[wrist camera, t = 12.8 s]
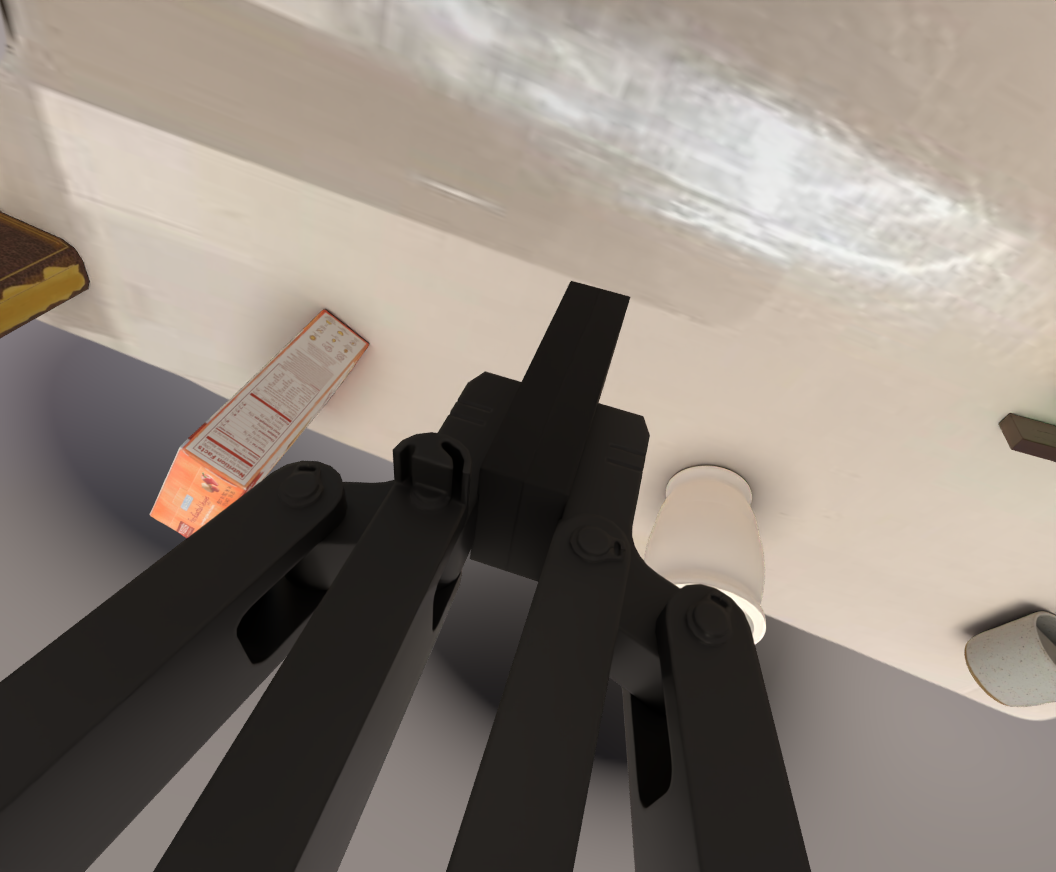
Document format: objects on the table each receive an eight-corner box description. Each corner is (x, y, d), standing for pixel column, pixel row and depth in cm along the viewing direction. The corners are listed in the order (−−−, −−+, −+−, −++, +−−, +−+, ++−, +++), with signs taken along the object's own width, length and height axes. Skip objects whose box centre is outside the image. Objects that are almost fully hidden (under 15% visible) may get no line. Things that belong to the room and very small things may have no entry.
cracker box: (324, 410, 66) (204, 552, 51) (280, 378, 64) (143, 515, 50) (375, 345, 57) (245, 495, 42) (325, 305, 55) (172, 447, 40)
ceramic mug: (949, 628, 61) (970, 698, 55) (1022, 597, 55) (1053, 673, 49) (1031, 667, 61) (1059, 740, 56) (1112, 641, 55) (1152, 720, 50)
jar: (713, 439, 53) (704, 570, 42) (786, 500, 55) (795, 638, 45) (635, 486, 60) (611, 608, 49) (702, 538, 62) (693, 664, 52)
